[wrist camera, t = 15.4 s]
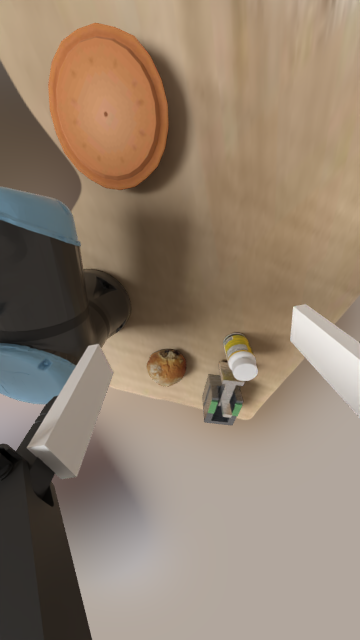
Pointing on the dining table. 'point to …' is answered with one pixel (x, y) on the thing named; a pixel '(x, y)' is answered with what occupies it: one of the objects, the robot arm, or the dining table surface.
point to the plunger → (227, 388)
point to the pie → (108, 106)
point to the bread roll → (166, 367)
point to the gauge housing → (211, 402)
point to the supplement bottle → (240, 357)
